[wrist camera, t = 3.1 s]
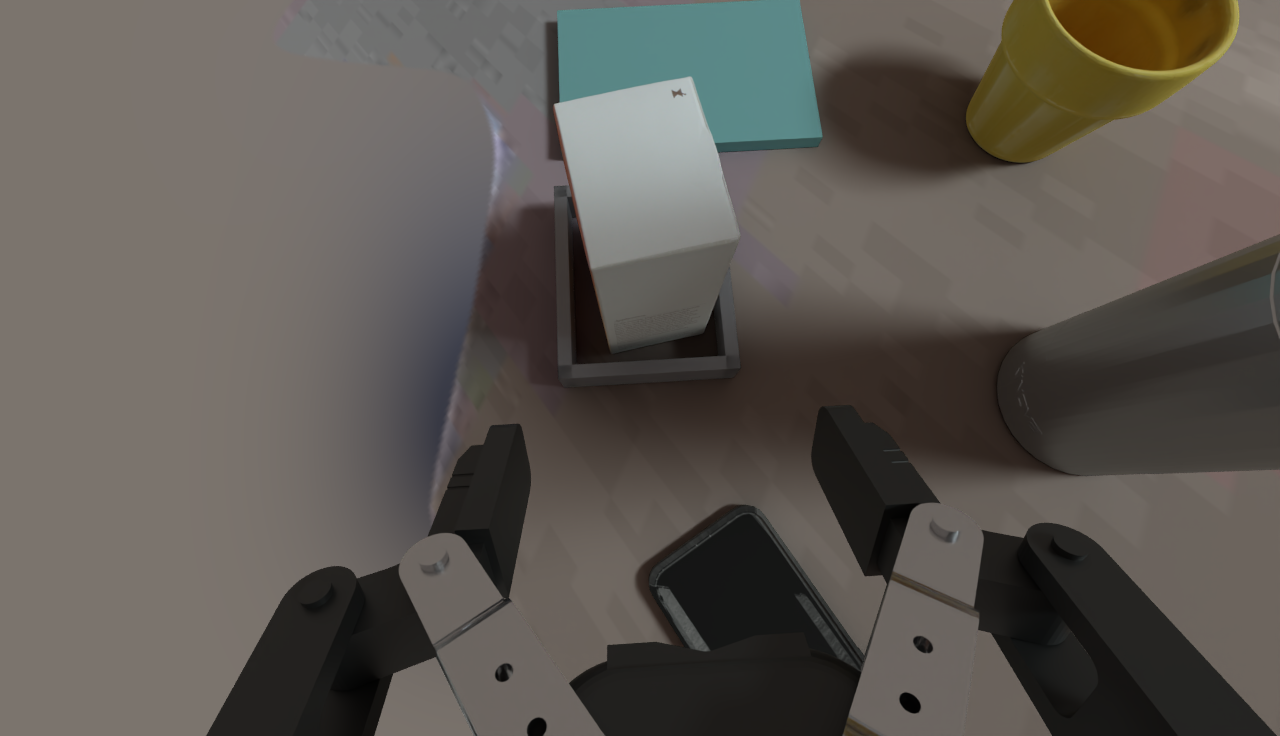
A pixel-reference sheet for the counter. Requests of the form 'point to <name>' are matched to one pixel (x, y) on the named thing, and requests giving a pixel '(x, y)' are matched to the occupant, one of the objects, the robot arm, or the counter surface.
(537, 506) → the counter surface
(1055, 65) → the plant pot
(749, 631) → the phone
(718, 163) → the small box
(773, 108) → the board
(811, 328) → the counter surface
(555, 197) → the tray frame
